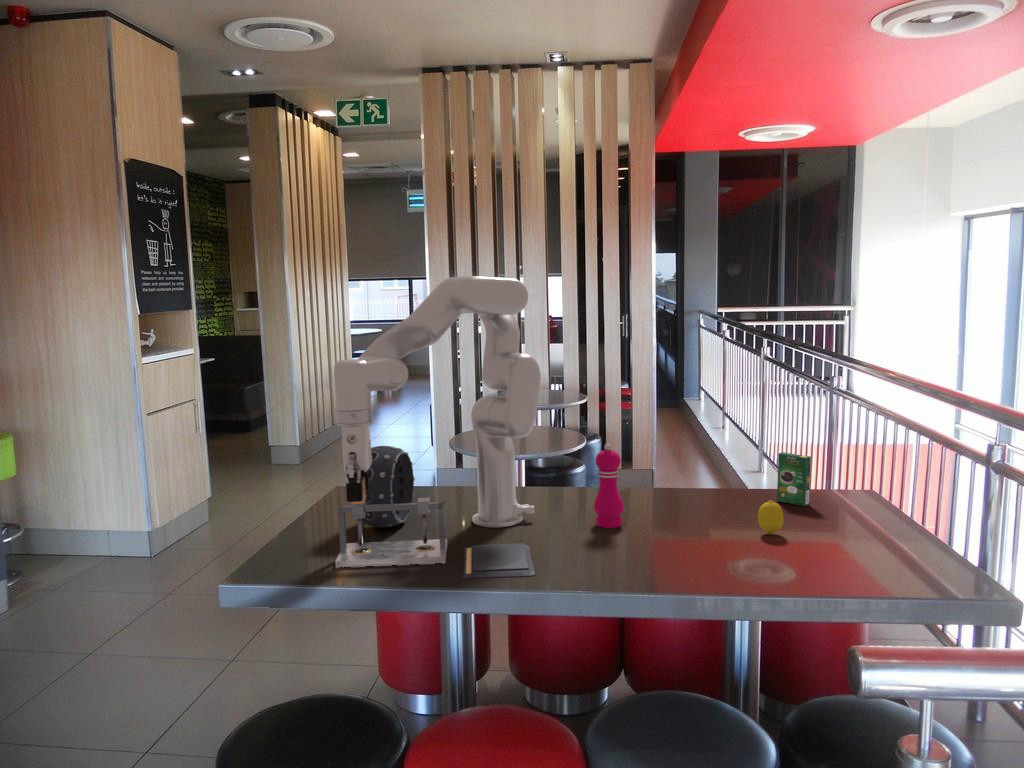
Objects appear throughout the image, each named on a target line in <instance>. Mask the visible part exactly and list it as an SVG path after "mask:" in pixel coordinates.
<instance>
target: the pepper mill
mask: <svg viewBox="0 0 1024 768" xmlns="http://www.w3.org/2000/svg"><path fill="white" fill-rule="evenodd" d="M603 448H604V449H603V450H601V451H599V452H597V455H596V458H595V465H596V466H597V468H598V470H597V476H598V477H599V490H598V493H597V495H596V497H595V499H594V502H593V510H594V512H595V514H596V515H597V516H596V517H595V524H596V526H598V527H599V528H604V529H615V528H619V527H621V526H622V524H623V518H622V516H620V515H622V513H623V512H624V509H625V507H624V502H623V499H622V496H621V494H620V492H619V490H618V482H617V479H618V477H619V470H618V468H619V467H620V466H621V463H622V461H621V456H620V454H619V453H618V452H617V451H615V450H614V449H613V447H612V445H611V444H610V443H605V445H604V447H603ZM612 449H613V450H612Z"/></svg>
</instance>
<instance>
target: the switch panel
mask: <svg viewBox="0 0 1024 768" xmlns="http://www.w3.org/2000/svg"><path fill="white" fill-rule="evenodd" d="M430 499H431V498H430V497H418V499H417V502H412V503H401V504H376V505H364V512H372V511H397V510H411V511H413V510H414V511H415V510H416V511H417V515H421V518H422V519H421V522H422V523H421V524H422V539H420V540H419V539H418V540H417V539H416V540H393V541H371V542H366V541H365V542H363V546H361V547H360V546H359V542H348V543H347V530H346V529H347V528H346V514H347V513H352V505H338V506H337V513H338V514H337V515H338V516H337V517H338V533H339V537H338V538H339V553H338V555H337V557H336V559H335V561H334V562H335V569H343V568H344V567H351V568H367V567H366V566H374V567H392V565H397V566H411V565H410V564H413V565H412V566H415V565H414V564H419V565H436V564H435V563H442V564H446V560H447V553H448V552H447V551H448V538H446V517H445V516H446V515H445V502H444V501H431V502H430ZM431 510H438V527H439V529H438V531H439V533H438V534H439V538H438V539H428V528H427V527H428V526H427V523H428V521H427V515H430V511H431ZM446 552H447V553H446ZM339 567H340V568H339ZM341 567H343V568H341ZM344 569H345V568H344Z"/></svg>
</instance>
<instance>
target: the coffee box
mask: <svg viewBox="0 0 1024 768" xmlns="http://www.w3.org/2000/svg"><path fill="white" fill-rule="evenodd" d="M811 459H812V456H810V455H802V454H796V453H789V452H782V451H781V452H779V453H778V459H777V461H778V462H777V488H776V489H777V493H776V501H777V502H780V503H785V504H789V505H796V506H799V507H800V506H801V507H802V506H803V507H806V506H810V505H809V504H810V488H811V487H810V486H811V466H812V463H811V462H812V460H811Z"/></svg>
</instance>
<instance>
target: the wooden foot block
mask: <svg viewBox="0 0 1024 768" xmlns="http://www.w3.org/2000/svg"><path fill="white" fill-rule="evenodd" d="M360 482H362V497H363V500H362V501H360V502H350V504H352V512H351V513H352V519H356V521H357V537H358V539H357V540H358V543H359V546H360V547H361V546H363V543H364V539H363V523H362V518H364V517H365V515H366V512H364V505H366V504H365V500H366V492H365V477H360Z"/></svg>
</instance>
